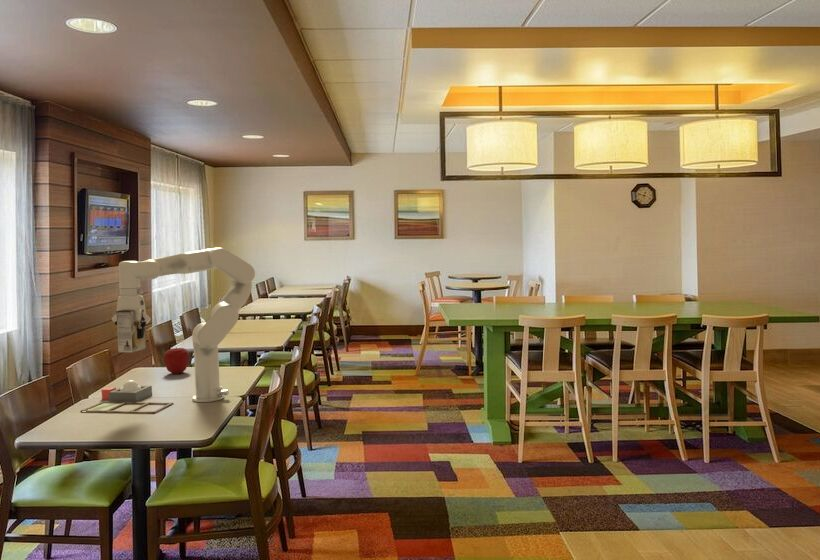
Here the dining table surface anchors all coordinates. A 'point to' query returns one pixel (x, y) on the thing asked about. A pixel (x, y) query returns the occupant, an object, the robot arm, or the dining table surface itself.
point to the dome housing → (130, 395)
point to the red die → (107, 392)
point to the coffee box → (128, 332)
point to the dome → (130, 386)
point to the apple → (176, 360)
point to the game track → (113, 405)
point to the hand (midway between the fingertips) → (131, 337)
